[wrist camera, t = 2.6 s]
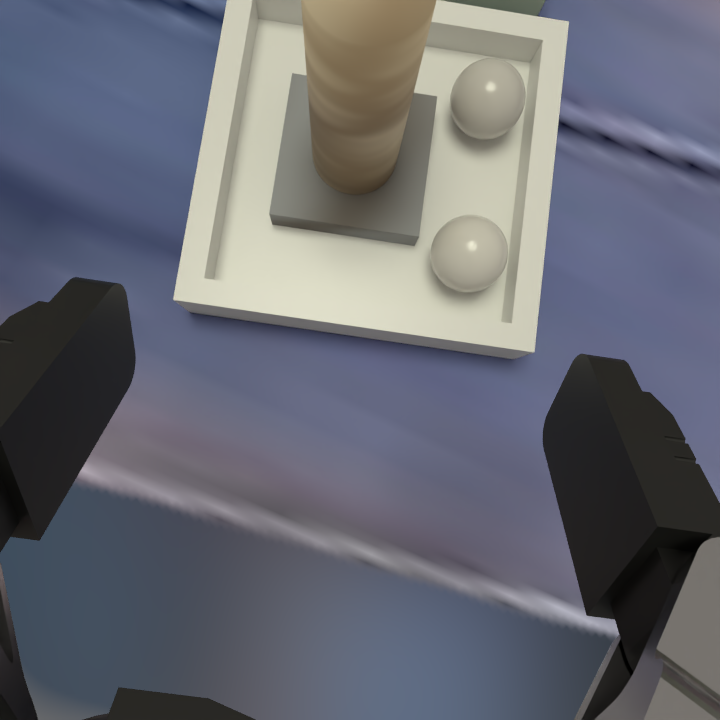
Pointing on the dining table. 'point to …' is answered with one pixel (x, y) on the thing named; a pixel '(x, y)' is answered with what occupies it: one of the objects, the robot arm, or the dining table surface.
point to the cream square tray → (359, 255)
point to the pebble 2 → (469, 253)
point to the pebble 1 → (487, 98)
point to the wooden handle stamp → (357, 122)
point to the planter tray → (507, 5)
